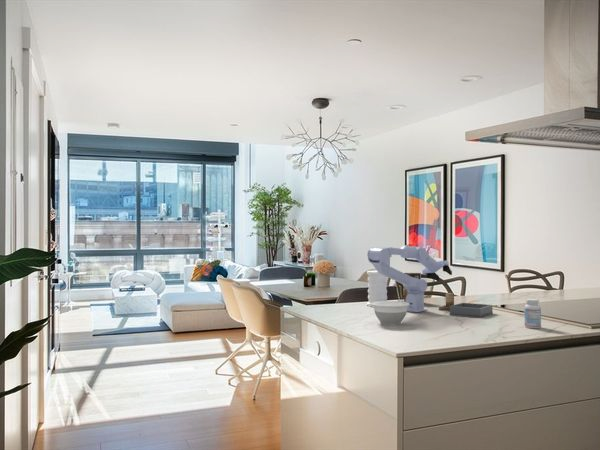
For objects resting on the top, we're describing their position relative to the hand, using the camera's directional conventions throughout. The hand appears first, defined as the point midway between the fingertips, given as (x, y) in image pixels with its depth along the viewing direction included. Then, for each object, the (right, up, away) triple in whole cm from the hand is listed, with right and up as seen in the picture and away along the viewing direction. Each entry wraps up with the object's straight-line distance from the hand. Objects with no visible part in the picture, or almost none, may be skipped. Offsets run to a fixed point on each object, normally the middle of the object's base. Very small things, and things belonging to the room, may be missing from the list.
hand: (444, 275), depth 280 cm
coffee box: (-13, -16, +18) cm, 27 cm away
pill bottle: (+19, -15, -60) cm, 65 cm away
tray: (+6, -16, -25) cm, 30 cm away
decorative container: (-33, -17, +8) cm, 38 cm away
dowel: (0, -16, -10) cm, 18 cm away
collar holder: (0, -16, -10) cm, 18 cm away
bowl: (-35, -16, -47) cm, 61 cm away
